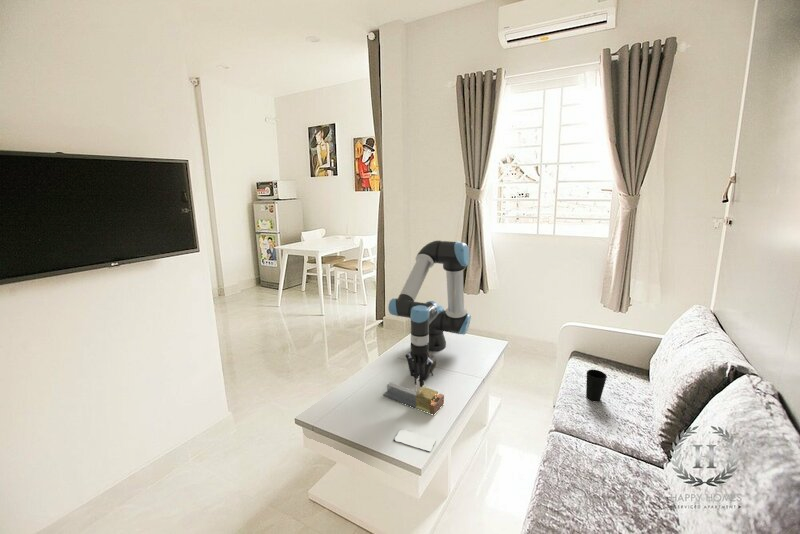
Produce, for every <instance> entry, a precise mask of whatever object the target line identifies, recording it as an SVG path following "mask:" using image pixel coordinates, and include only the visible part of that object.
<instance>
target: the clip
mask: <svg viewBox="0 0 800 534" xmlns="http://www.w3.org/2000/svg"><path fill="white" fill-rule="evenodd" d="M438 395H439V391H438V390H434V389H432V388H429V387H425V386H422V389H421V390H420V391H419V392H418V393H417V394H416V406H417V407H419V408H422V409H425V410H427V411H430V404H431V403H432V402H433V401H434V399H435V398H436V397H437V396H438Z"/></svg>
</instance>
